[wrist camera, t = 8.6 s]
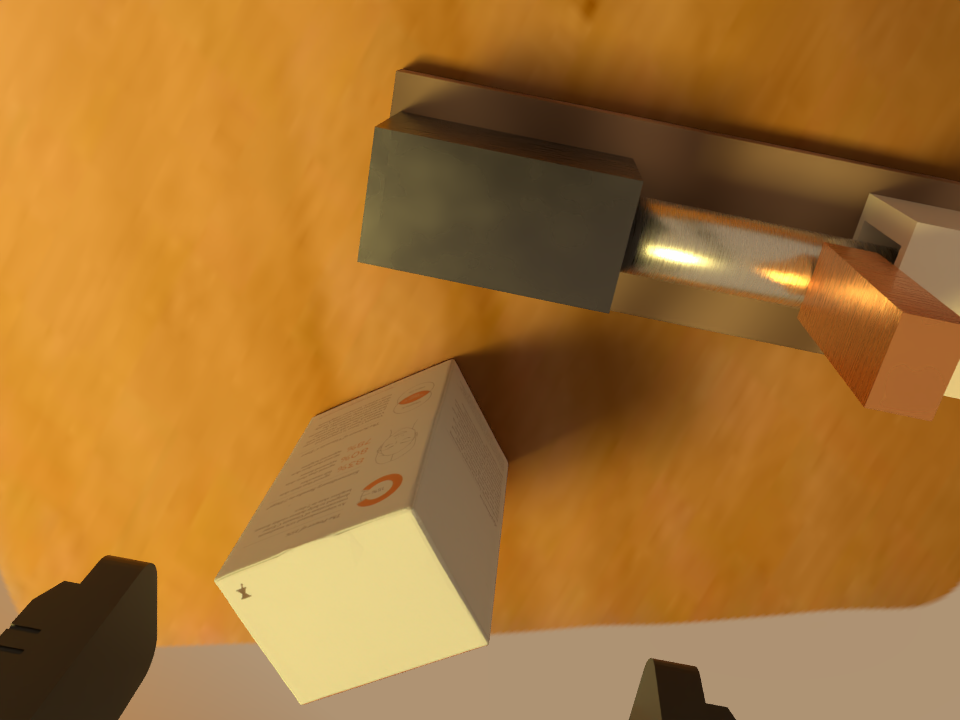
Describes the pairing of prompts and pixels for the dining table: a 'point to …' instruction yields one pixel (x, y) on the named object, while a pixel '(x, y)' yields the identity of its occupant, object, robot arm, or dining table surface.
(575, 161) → the dark hollow rectangular block
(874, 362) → the sliding bolt
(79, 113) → the dining table surface
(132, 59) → the dining table surface
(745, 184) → the walnut board
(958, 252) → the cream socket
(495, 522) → the small box
